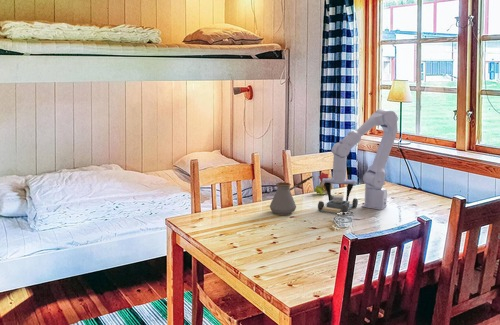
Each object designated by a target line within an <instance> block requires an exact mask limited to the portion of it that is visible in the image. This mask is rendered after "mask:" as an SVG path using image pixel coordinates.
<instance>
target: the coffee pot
mask: <svg viewBox="0 0 500 325" xmlns="http://www.w3.org/2000/svg"><path fill="white" fill-rule="evenodd" d="M310 179H312V181H315V180H316V179H315V177H314V175H311V176H309V177H307V178H306V179H303V180H301V181H300V182H298V183H297V184H296V185H294V186H291V185H292V184H291V183H290V182H284V181H283V182H277V183H275V185H276V191H275V192H274V195H273V198H272V200H271V202H270V205H269V208H270V210H271V211H272V213H273V214H275V215H277V216H288V215H289V216H290V215H292V213H293V212H295V211H296V209H297V205H296V203H295V200H294V198H293V195H292V192H291V191H292V190H294V189H296V188H297V187H299V186H301V185H303V184H305V183H306V182H307V181H310Z"/></svg>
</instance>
